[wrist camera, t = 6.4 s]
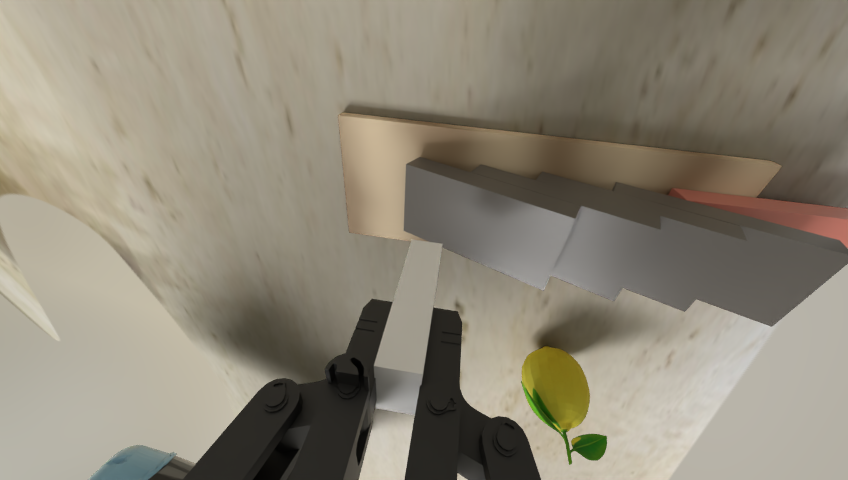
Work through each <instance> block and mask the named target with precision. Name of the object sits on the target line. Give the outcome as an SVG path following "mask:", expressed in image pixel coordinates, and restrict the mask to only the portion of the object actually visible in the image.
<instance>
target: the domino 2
mask: <svg viewBox="0 0 848 480" xmlns="http://www.w3.org/2000/svg"><path fill="white" fill-rule="evenodd" d="M471 172H472V173H475V174H478V175H481V176H485V177H488V178H491V179H494V180H498V181H501V182H504V183H508V184H511V185H514V186H517V187H521V188H524V189H527V190H531V191H534V192H537V193H540V194H544V195H547V196H550V197H554V198H557V199H560V200H563V201H567V202H570V203H573V204H577V205H580V209H579V211H578V214H577V216H576V219H575V221H574V223H573V225H572V228H571V230H570V232H569V235H568V237H567V239H566V241H565V244H564V246H563V248H562V250H561V253H560V255H559V257H558V260H557V262H556V264H555V266H554V269H553V271H552V273H551V276H553V277H555V278H558V279H560V280H563V281H565V282H567V283H570V284H572V285H575V286H577V287H580V288H582V289H585V290H587V291H590V292H592V293H595V294H597V295H599V296H602V297H604V298H607V299H609V300H612V301H615V299H616V297H617V296H618V294H619V293H620V291H621V290H622V288H623V287H624V285H625V284H626V282H627V281H628V279H629V278H630V276H631V275H632V273H633V272H634V270H635V268H636V267H637V265H638V264H639V262H640V261H641V259H642V258H643V256H644V255H645V253H646V252H647V250H648V249H649V247H650V246H651V244H652V243H653V241H654V239H655V238H656V236H657V235H658V233H659V232H660V230H661V225H660V216H659V215H655V214H652V213H648V212H645V211H641V210H638V209H634V208H631V207H627V206H624V205H621V204H617V203H614V202H610V201H607V200H603V199H600V198H596V197H593V196H589V195H586V194H582V193H579V192H576V191H572V190H569V189H565V188H562V187H558V186H555V185H551V184H548V183H544V182H541V181H538V180H534V179H531V178H527V177H524V176H520V175H517V174H513V173H510V172H506V171H503V170H499V169H496V168H493V167H489V166H486V165H482V164H480V165H479V166H478V167H476V168H475V169H474V170H472V171H471Z"/></svg>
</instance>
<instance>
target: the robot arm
mask: <svg viewBox="0 0 848 480" xmlns="http://www.w3.org/2000/svg"><path fill="white" fill-rule="evenodd" d="M442 245H443V244H441V243H433V242H426V241H419V240H412V239H411V243H410V246H409V249H408V253H407V256H406V259H405V263H404V266H403V269H402V273H401V276H400V279H399V283H398V286H397V290H396V293H395V296H394V300H393V302H389V301H382V300H376V299H372V300H371V301H370V302H369V303H368V304H367V305H366V306H365V307H364V308H363V310H362V313H361V316H360V318H359V321H358V323H357V326H356V329H355V331H354V333H353V336H352V338H351V341H350V343H349V346H348V348H347V351H346V354H342V355H339V356H337V357H335V358H334V359H333V360H331V361H330V362H329V363H328V365H327V366H326V368H325V373H326V378H327V379H325V380H322V381H319V382H314V383H308V384H301V385H297V384H296V383H295V382H294V381H293V380H290V379H286V378H282V379H276V380H273V381H271V382H269V383H267V384H266V385H265V386H264V387H263V388H261V389H260V390H259V391H258V392H257V394H256V395H255V396H254V397H253V398H252V399H251V401H250V402H249V403H248V404H247V405H246V406H245V407H244V409H243V410H242V411H241V412H240V413H239V414H238V416H237V417H236V418H235V419H234V420H233V421H232V423H231V424H230V425H229V426H228V427H227V428H226V430H225V431H224V432H223V433H222V434H221V436H220V437H219V438H218V439H217V440H216V441H215V443H214V444H213V445H212V446H211V447H210V448H209V449H208V451H207V452H206V453H205V454H204V455H203V456H202V458H201V459H200V460H199V461H198V462H197V463H196V464H195V463H193V462H190V461H188V460H185V459H182V458H180V457H177V456H176V453H174V452H173V453H170V454H169V453H166V452H163V451H160V450H156V449H153V448H150V447H147V446H143V445H136V446H131V447H127V448H125V449H123V450H121V451H120V452H118V453H117V454H115V455H114V456H113V457H112V458H110V459H109V460H108V461H107V462H106V463H105V464H104V465H103V466H102V467H101V468H100V469H99V470H98V471H96V472H95V473H94V474H93V475H92V476H91V477H90V478H89V479H88V480H358V479H359V475H360V472H361V468H362V464H363V460H364V456H365V452H366V448H367V444H368V440H369V436H370V432H371V428H372V416H373V412H374V409H375V405H376V408H377V409H383V410H388V411H393V412H399V413H404V414H410V415H415V418H414V424H413V431H412V437H411V443H410V449H409V456H408V462H407V468H406V475H405V480H457V473H459V474H460V475H462V476H463V477H465V478H466V479H468V480H541V478H540V475H539V472H538V469H537V466H536V463H535V460H534V457H533V454H532V451H531V448H530V445H529V442H528V439H527V437H526V435H525V433H524V431H523V429H522V428H521V427H520V426H519V425H518V424H517V423H516V422H515V421H513V420H511V419H509V418H507V417H500V416H498V417H495V418H492V419H491V418H489V417H488V416H486V415H484V414H482V413H480V412H479V411H477V410H475V409H474V408H473V407H471V406H470V405H469V404H468V403H467V402H466V401H465V399H464V397H463V396H462V393H461V390H460V384H459V380H460V359H461V338H462V337H461V335H462V321H461V319H460V316H459V314H458V312H457V311H451V310H444V309H438V308H434V303H435V296H436V290H437V283H438V275H439V268H440V260H441V253H442Z"/></svg>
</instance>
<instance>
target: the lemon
mask: <svg viewBox="0 0 848 480" xmlns="http://www.w3.org/2000/svg"><path fill="white" fill-rule="evenodd" d="M522 382H523V383H522ZM521 383H522V386H523V389H524V392H525V396H526V399H527V401H528V403H529V405H530V407H531V408H532V410H533V411H534V413H535V414H536V415H537V416H538V417H539V418H540V419H541V420H542V421H543V422H544V423H546V424H547V425H548V426H550V427H551V428H553V429H554V430H556V431H557V432H559V433H560V434H561V436H562V437H563V439H564V441H565V444H566V449H567V455H568V461H569V465H570V464H572V460H571V452H573V451H576V452H578V453H579V454H581V455H582V456H583V457H585V458H586V459H589V460H599V459H600V458H601V457H602V456H603V455H604V453H605V450H606V446H607V436H603V435H599V434H586V435H581V436H578V437H576V438H574V439H572V440H571V443H572V447H573V449H572V450H570V448H569V443H568V439H567V435H566V432H568V431H569V430H570V429H571V428H574V427H576V426H578V425H579V424H581V422H582V421H583V420H584V418H585V417H586V414H587V412H588V407H589V401H590V393H589V387H588V383H587V380H586V377H585V375H584V372H583V370H582V368H581V367H580V365H579V364H578V362H577V361H576V360H575V359H574V358H573V357H572V356H571V355H569V354H568V353H567V352H565V351H563V350H561V349H557V348H550V347H549V346H544V347H543V348H541V349H538V350H536V351H534V352H532V353H530V354H529V355H528V356H527V358H526V359H525V361H524V364H523V366H522V381H521ZM561 432H562V433H563V435H562V433H561Z"/></svg>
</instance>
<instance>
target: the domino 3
mask: <svg viewBox="0 0 848 480" xmlns="http://www.w3.org/2000/svg"><path fill="white" fill-rule="evenodd" d="M536 180H538V181H541V182H544V183H548V184H551V185H555V186H558V187H562V188H565V189H569V190H572V191H576V192H579V193H582V194H586V195H589V196H593V197H596V198H600V199H603V200H607V201H610V202H614V203H617V204H621V205H624V206H627V207H631V208H634V209H638V210H641V211H645V212H648V213H652V214H655V215H659V216H660V225H661V230H660V232H659V233H658V235H657V236H656V238H655V239H654V241H653V243H652V244H651V246H650V247H649V249H648V250H647V252H646V253H645V255H644V256H643V258H642V259H641V261H640V262H639V264H638V265H637V267H636V268H635V270H634V272H633V273H632V275H631V276H630V278H629V279H628V281H627V282H626V284H625V285H624V287H623V288H625V289H627V290H630V291H632V292H635V293H638V294H640V295H643V296H645V297H648V298H651V299H653V300H656V301H658V302H661V303H663V304H666V305H669V306H671V307H674V308H676V309H679V310H682V311H684V312H685V311H686V310H687V309H688V308H689V307H690V305H691V304H692V303H693V302H694V301H695V300H696V299H697V298H698V296H699V295H700V294H701V293H702V292H703V291H704V290H705V289H706V287H707V286H708V285H709V284H710V283H711V282H712V281H713V280H714V278H715V277H716V276H717V275H718V274H719V273H720V272H721V271H722V269H723V268H724V267H725V266H726V265H727V264H728V263H729V262H730V260H731V259H732V258H733V257H734V256H735V255H736V254H737V253H738V251H739V250H740V249H741V248H742V247H743V246H744V245H745V244H746V242H747V239H746V237H745V235H744V233H743V231H742V228H741V226H738V225H735V224H731V223H727V222H724V221H720V220H717V219H713V218H709V217H706V216H702V215H698V214H695V213H691V212H688V211H684V210H680V209H677V208H673V207H669V206H666V205H662V204H658V203H655V202H651V201H648V200H644V199H640V198H637V197H633V196H629V195H626V194H622V193H619V192H615V191H611V190H608V189H604V188H600V187H597V186H593V185H590V184H586V183H582V182H579V181H575V180H571V179H568V178H564V177H560V176H557V175H553V174H550V173H546V172H542V173H541V174H540V175H539V176H538V178H537V179H536Z"/></svg>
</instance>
